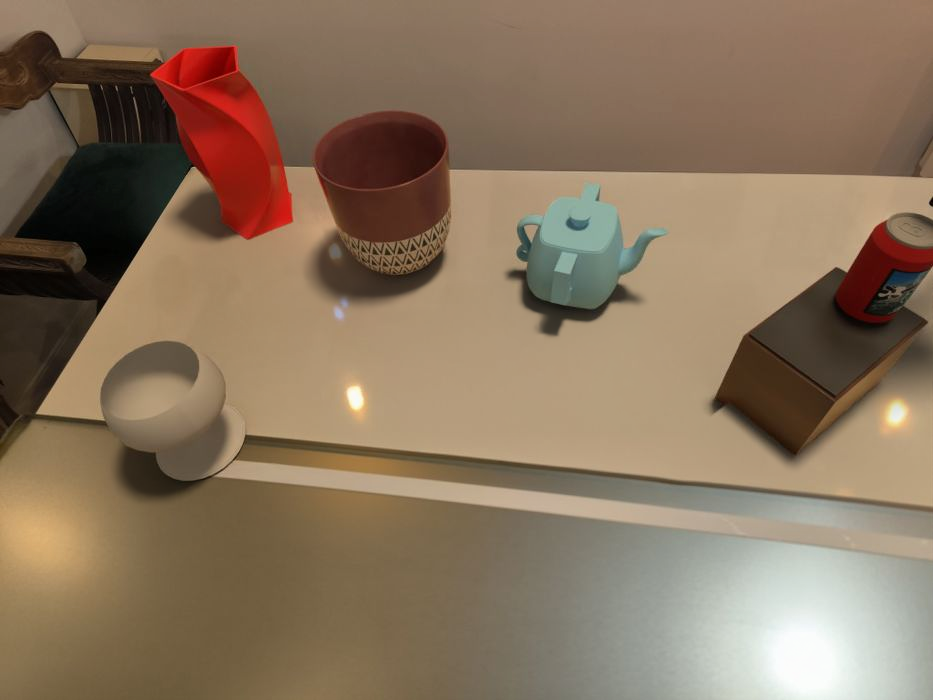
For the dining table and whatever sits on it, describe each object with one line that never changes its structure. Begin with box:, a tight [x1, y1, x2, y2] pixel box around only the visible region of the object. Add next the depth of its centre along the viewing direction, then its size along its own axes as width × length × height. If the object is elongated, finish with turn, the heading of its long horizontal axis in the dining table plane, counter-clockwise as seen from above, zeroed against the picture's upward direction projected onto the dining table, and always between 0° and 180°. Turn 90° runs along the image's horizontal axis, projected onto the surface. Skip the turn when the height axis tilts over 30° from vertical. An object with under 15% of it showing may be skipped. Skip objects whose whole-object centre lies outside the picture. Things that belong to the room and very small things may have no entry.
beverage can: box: [836, 211, 933, 323], centre depth 68 cm, size 7×7×12 cm
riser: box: [714, 266, 930, 457], centre depth 77 cm, size 18×12×14 cm, turn 126°
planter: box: [312, 110, 452, 276], centre depth 95 cm, size 20×20×21 cm
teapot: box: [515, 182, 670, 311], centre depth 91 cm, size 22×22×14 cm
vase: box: [149, 45, 294, 240], centre depth 102 cm, size 15×14×28 cm
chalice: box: [99, 340, 247, 482], centre depth 77 cm, size 14×14×15 cm
